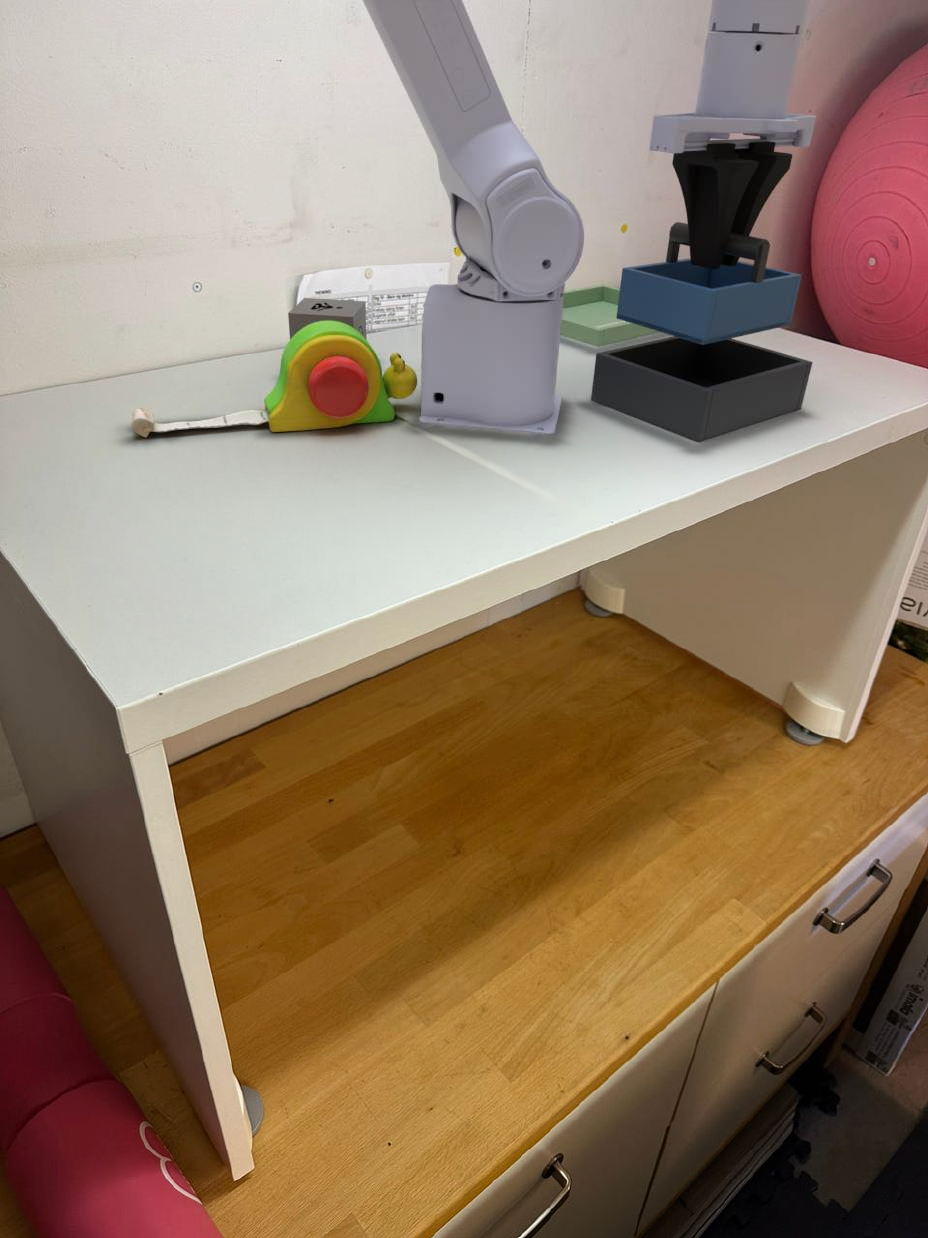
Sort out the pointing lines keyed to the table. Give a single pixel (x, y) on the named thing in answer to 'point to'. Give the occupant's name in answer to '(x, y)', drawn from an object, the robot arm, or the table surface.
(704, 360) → the charcoal bin
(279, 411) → the toy measuring tape
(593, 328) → the green tray
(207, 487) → the table surface
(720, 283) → the blue bin
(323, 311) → the dark gray cube
